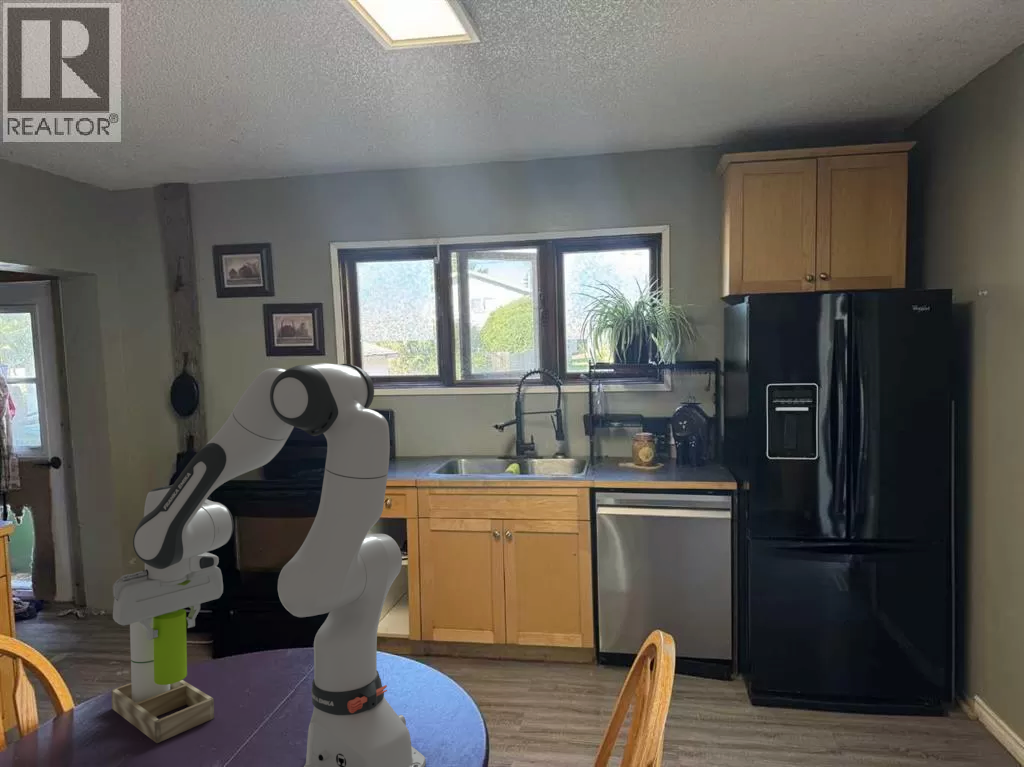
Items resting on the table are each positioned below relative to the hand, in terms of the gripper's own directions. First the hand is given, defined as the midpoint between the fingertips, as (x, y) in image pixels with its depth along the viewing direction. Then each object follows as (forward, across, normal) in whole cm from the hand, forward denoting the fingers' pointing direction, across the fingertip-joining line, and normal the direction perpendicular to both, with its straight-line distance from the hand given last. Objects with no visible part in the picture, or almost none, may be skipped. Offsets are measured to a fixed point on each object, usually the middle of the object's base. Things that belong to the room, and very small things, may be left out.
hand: (171, 632), depth 129 cm
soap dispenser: (+10, 0, 0) cm, 10 cm away
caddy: (+18, 0, +5) cm, 19 cm away
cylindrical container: (+18, 0, +10) cm, 21 cm away
